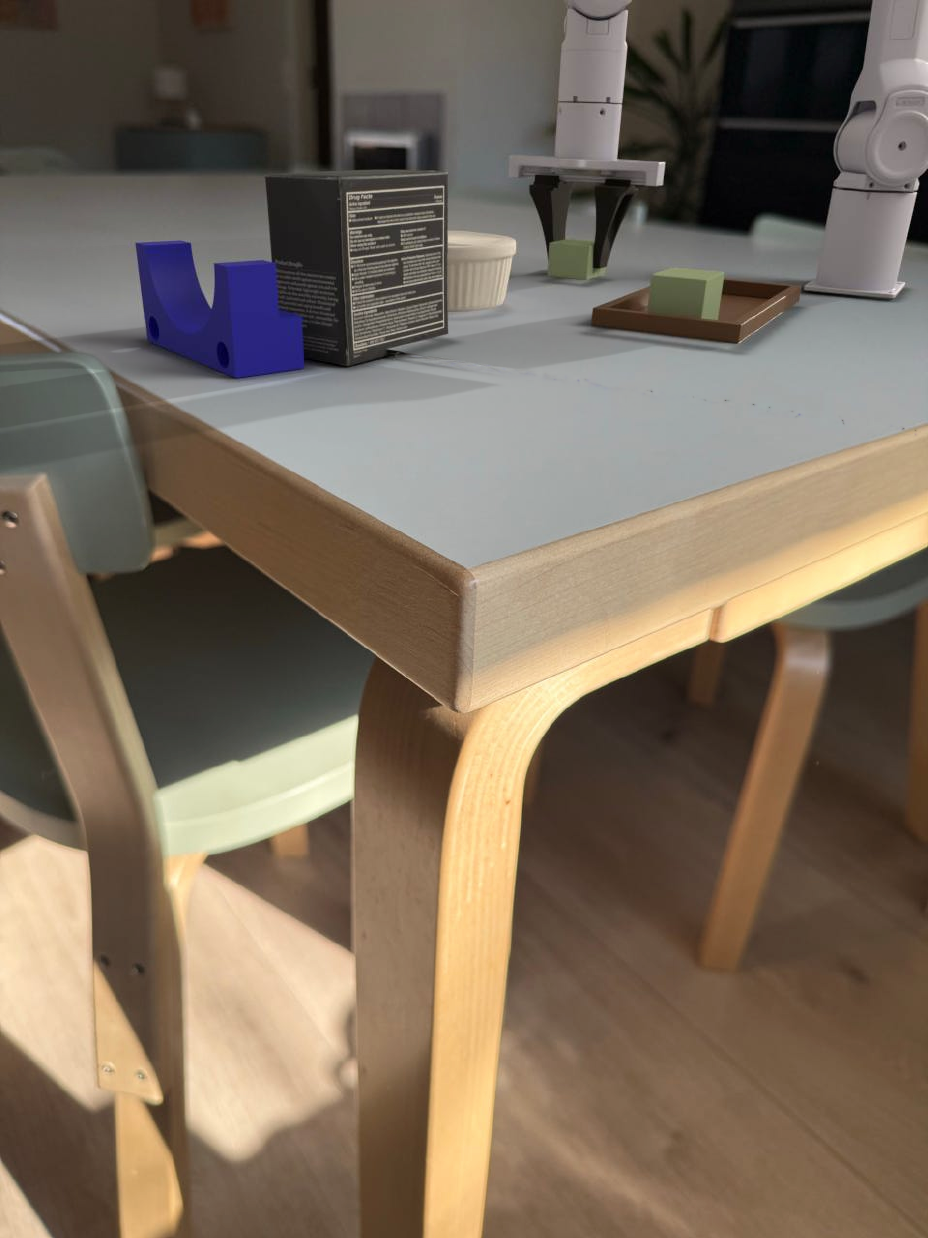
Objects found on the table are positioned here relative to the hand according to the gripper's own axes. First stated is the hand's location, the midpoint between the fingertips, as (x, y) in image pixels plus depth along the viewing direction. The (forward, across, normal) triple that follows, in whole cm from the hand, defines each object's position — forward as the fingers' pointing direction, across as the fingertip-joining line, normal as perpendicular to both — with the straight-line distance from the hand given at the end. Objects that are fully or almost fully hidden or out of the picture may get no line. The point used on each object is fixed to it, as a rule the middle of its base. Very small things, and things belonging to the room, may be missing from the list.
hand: (577, 265), depth 91 cm
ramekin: (+2, -3, -21) cm, 21 cm away
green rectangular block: (+1, +16, -19) cm, 25 cm away
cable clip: (+2, -6, -44) cm, 44 cm away
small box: (+2, 0, -37) cm, 37 cm away
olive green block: (+1, 0, 0) cm, 1 cm away
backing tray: (+1, +16, -13) cm, 21 cm away
